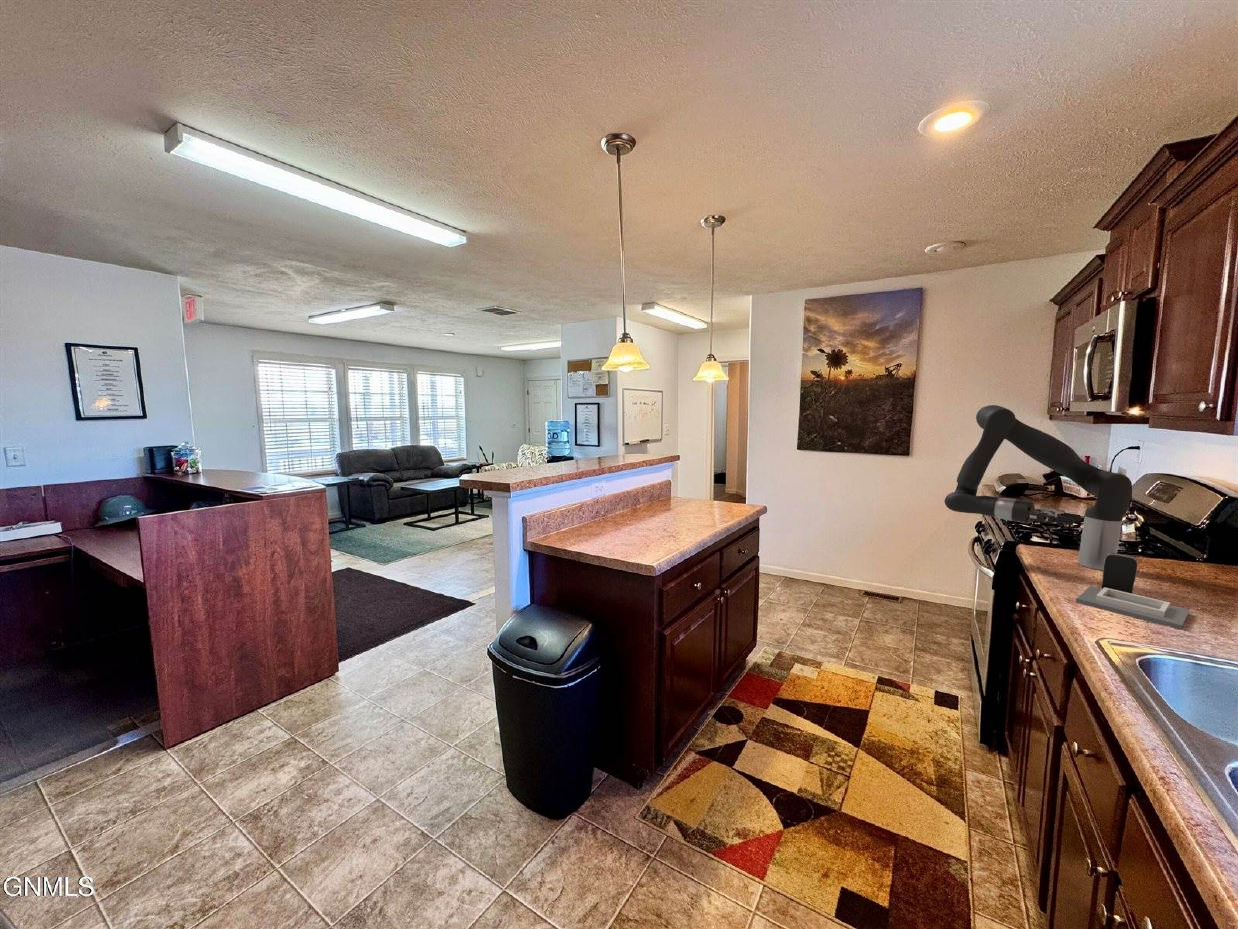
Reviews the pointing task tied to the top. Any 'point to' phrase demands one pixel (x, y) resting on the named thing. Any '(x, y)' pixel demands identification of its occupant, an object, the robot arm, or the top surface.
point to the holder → (1135, 606)
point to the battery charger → (1119, 572)
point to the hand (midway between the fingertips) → (1077, 520)
